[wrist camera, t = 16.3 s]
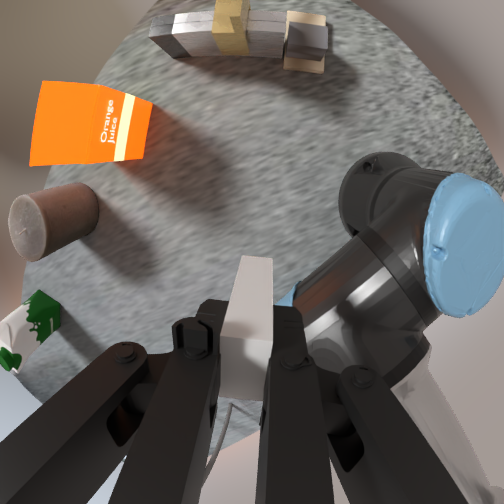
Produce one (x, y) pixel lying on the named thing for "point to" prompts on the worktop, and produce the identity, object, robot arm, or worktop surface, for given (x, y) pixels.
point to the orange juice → (87, 125)
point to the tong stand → (305, 42)
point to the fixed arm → (203, 44)
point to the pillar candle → (52, 219)
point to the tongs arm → (210, 14)
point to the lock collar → (231, 26)
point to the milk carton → (27, 329)
